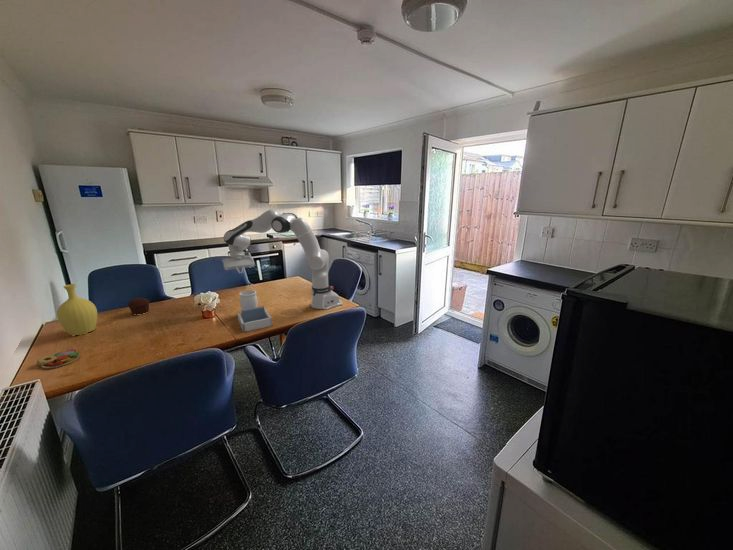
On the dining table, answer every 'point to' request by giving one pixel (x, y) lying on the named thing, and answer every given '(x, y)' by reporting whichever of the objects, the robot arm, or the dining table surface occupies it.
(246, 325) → the open storage bin
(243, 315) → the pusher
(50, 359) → the toy food set
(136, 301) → the muffin
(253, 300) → the jar
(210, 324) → the dining table surface
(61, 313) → the vase
